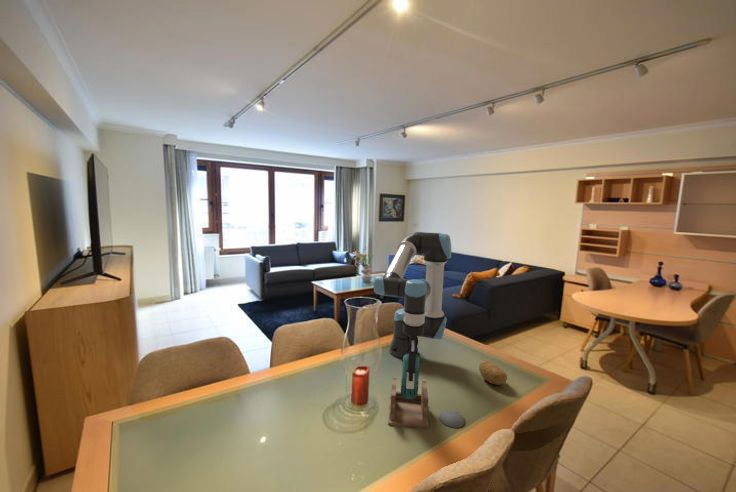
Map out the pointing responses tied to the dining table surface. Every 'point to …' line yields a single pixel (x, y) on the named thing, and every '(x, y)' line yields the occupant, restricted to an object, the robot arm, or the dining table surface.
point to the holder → (408, 408)
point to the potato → (492, 372)
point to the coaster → (452, 419)
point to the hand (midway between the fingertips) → (409, 382)
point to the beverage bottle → (404, 391)
